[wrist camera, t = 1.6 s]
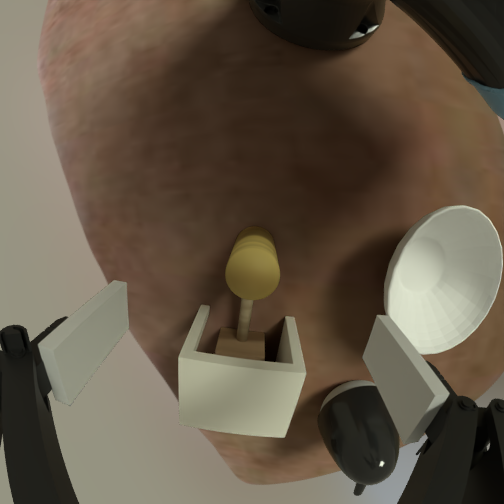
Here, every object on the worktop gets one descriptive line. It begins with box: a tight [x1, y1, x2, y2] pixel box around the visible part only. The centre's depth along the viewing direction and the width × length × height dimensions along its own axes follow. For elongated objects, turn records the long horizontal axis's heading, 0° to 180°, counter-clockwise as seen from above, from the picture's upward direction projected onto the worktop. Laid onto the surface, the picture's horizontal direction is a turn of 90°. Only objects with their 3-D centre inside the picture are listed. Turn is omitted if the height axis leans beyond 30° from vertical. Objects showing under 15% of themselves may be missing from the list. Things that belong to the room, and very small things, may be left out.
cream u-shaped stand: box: [178, 304, 306, 438], centre depth 28 cm, size 9×10×10 cm
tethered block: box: [215, 226, 280, 361], centre depth 27 cm, size 17×5×9 cm, turn 172°
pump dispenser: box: [317, 380, 400, 496], centre depth 28 cm, size 10×10×15 cm
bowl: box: [384, 205, 503, 354], centre depth 26 cm, size 16×16×7 cm
